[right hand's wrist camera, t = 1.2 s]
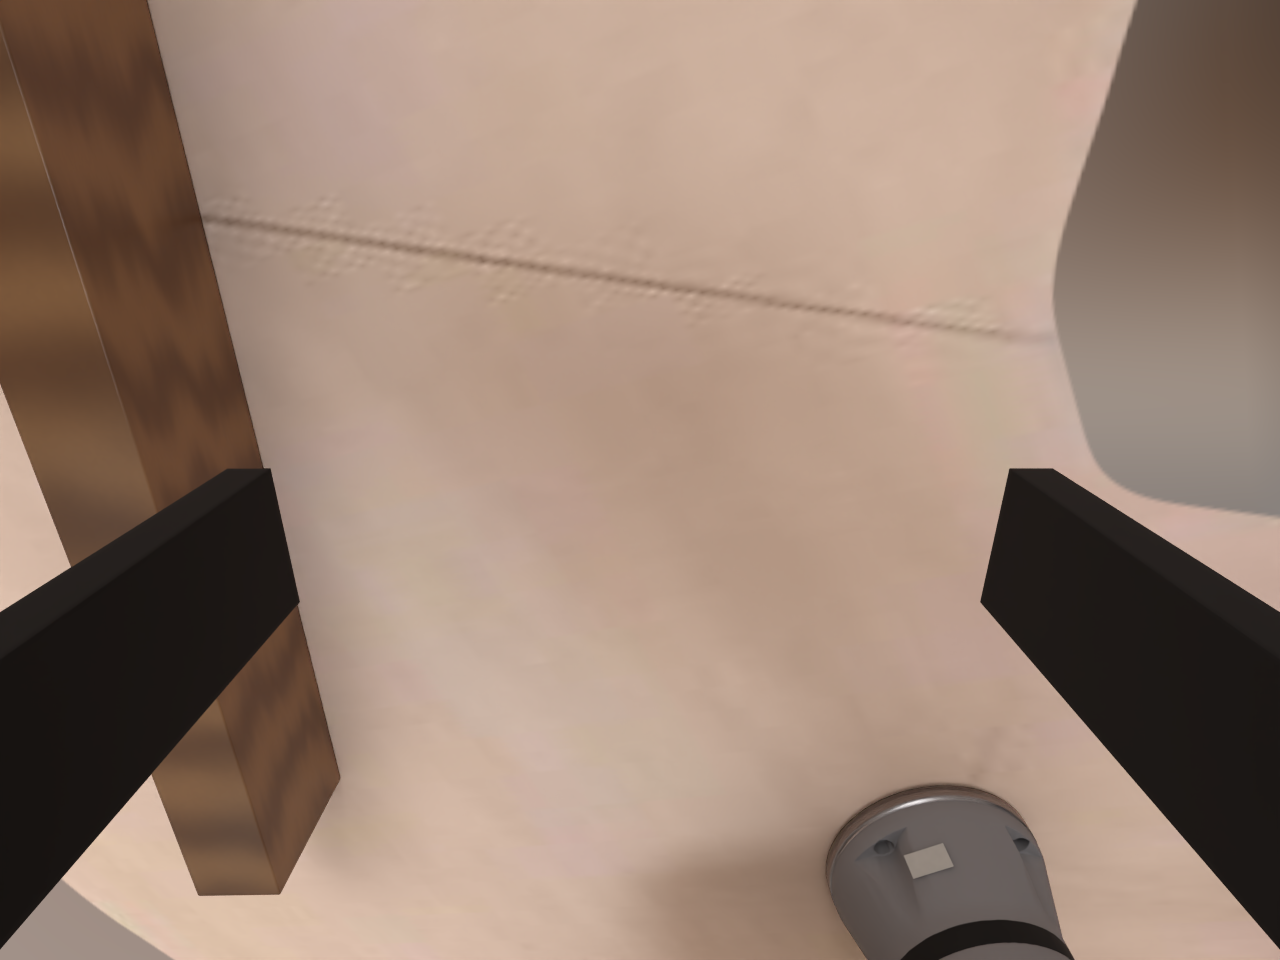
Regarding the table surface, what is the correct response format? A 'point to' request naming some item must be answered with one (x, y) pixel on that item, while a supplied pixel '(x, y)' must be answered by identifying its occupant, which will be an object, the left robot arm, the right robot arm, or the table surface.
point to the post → (141, 394)
